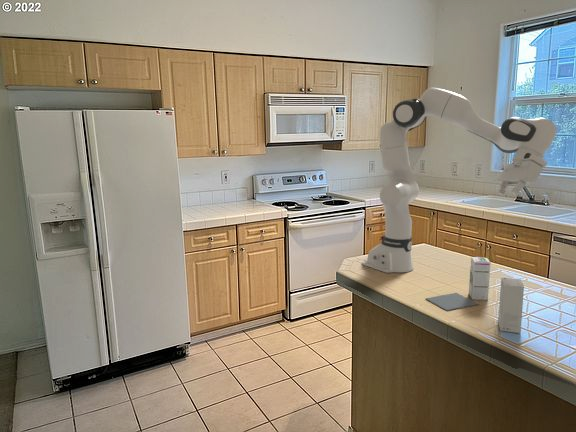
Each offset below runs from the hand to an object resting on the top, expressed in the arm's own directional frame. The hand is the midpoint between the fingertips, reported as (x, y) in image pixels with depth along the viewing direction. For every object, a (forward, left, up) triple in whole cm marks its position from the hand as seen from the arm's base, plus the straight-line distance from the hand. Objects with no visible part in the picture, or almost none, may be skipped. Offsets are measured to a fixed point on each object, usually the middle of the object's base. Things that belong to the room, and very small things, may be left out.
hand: (507, 193), depth 160 cm
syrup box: (-3, -13, -37) cm, 40 cm away
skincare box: (+13, -31, -37) cm, 51 cm away
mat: (-8, -24, -37) cm, 45 cm away
